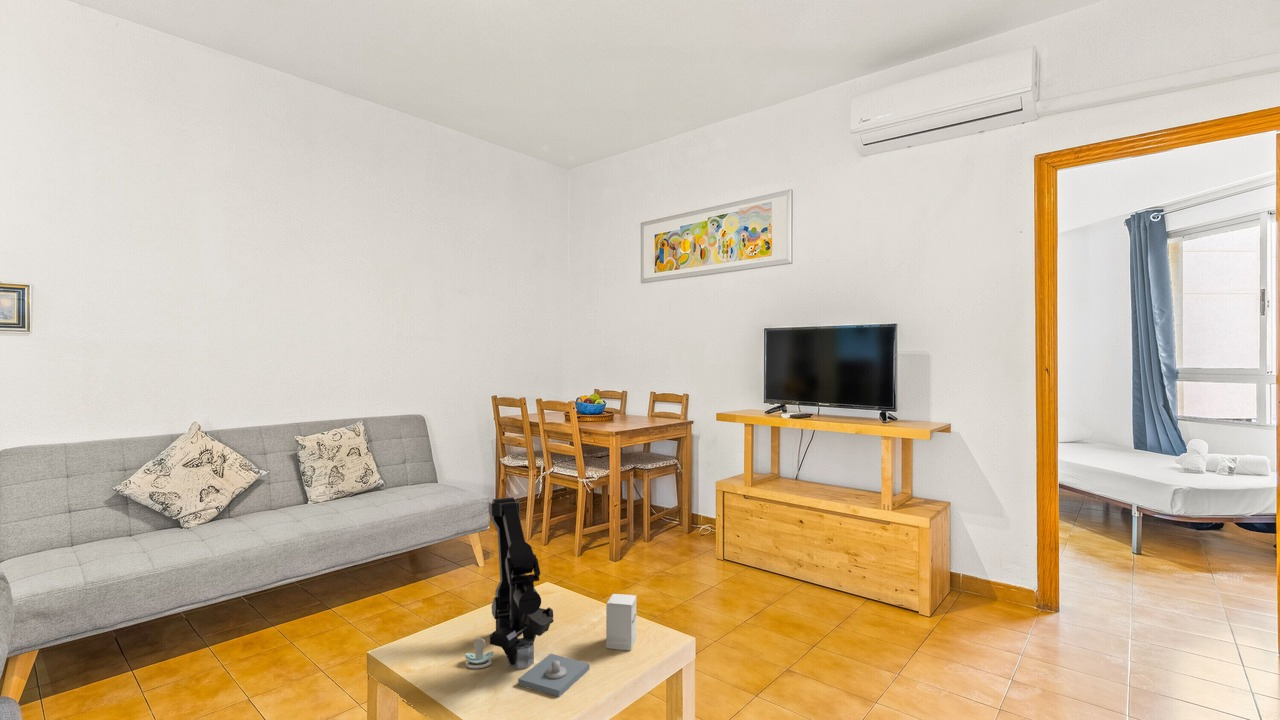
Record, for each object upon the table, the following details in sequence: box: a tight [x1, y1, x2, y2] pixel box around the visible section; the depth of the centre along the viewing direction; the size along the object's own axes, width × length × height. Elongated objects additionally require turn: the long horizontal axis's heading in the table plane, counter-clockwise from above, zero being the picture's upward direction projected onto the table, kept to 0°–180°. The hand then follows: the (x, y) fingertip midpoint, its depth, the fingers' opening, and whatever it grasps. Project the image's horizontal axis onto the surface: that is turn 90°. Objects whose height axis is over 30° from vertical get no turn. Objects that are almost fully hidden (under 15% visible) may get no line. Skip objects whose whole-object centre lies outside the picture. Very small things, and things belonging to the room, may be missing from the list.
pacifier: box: [464, 637, 495, 670], centre depth 156 cm, size 7×6×6 cm
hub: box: [507, 637, 535, 670], centre depth 156 cm, size 6×6×5 cm
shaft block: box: [517, 653, 590, 698], centre depth 149 cm, size 12×14×4 cm
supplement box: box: [605, 593, 637, 651], centre depth 167 cm, size 7×7×13 cm
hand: (520, 658), depth 156 cm, fingers closed on hub, 6 cm apart
